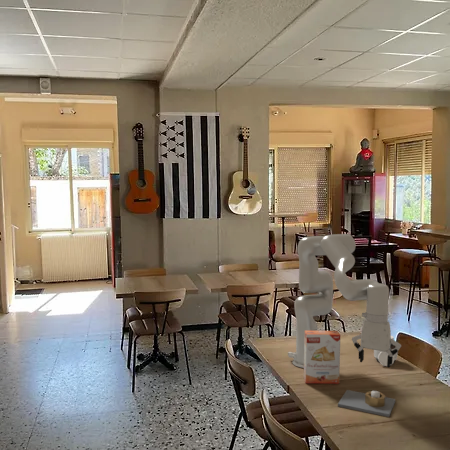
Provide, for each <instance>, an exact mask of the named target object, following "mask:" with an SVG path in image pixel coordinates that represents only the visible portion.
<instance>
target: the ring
mask: <svg viewBox="0 0 450 450" xmlns="http://www.w3.org/2000/svg"><path fill="white" fill-rule="evenodd" d="M379 392H380V391H379ZM365 393H366V394H365V403H366V404H368V405H369V406H373V407H383V406H384V405H385V397H386V395H385V394H384V393H382V392H380V398H375V397H371V391H370V390H369V391H366V392H365Z"/></svg>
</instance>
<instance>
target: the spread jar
mask: <svg viewBox="0 0 450 450" xmlns="http://www.w3.org/2000/svg"><path fill="white" fill-rule="evenodd" d="M391 339H393V340H394V339H395V337H394V336H393V335H391ZM390 348H391V349H392V351H393V350H394V349H395V348H396V346H394V345H393V344H391V346H390ZM398 352H399V351H398ZM398 352H397V353H396V354H394V355H393V359H392V365H393V364H394V362H396V360H397V359H398ZM373 356H374V358H375V360H376V361H377V362H379V363H380V365H382V366H383V367H387V358H388V353H387V352H386V351H378V350H373ZM392 365H391V364H390V366H392Z"/></svg>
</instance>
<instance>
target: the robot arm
mask: <svg viewBox="0 0 450 450" xmlns="http://www.w3.org/2000/svg"><path fill="white" fill-rule="evenodd" d="M297 244H298V245H297V255H298V256H297V257H298V260H299V262H298V264H299V266H298V269H299V270H298V288H299V291H300V292H302V293H303V294H305V293H306V295H301V296H298V297H297V298H296V299H295V300H294V303H293V304H294V313H295V321H296V323H295V324H296V325H295V327H296V328H295V330H296V333H295V334H296V335H295V337H296V339H295V346H296V347H295V352H293V351H288V352H287V356H288V358H292V359H293V360H292V365H294V366H296V367H298V368H303V369H304V337H305V331H318V324H317V322H316V321H315V319H314V317H317V316H323V315H324V316H325V315H328V314H330V313H331V311H332V308H333V299H334V298H333V297H334V285H335V287H336V288H337V290H338V291H339V293H340V294H341V296H343V298H344V299H346V300H347V301H362V300H363V301H364V300H365V301H366V305H365V307H366V311H365V312H362V314H361V316H362V317H363V318H365V319H364V320H363V323H362V327H361V332H360V334H358V335H355V336H352V337H351V341H352V343H353V345H354V346H353V347H355V348H356V350H357V351H358V360H359V363H363V362H364V358H365V350H364V349H367V350H373V351H374V350H378V351H386V352H387V353H388V358H387V366H386V367H388V368H390V367H391V366H392V365H393V364H392V359H393V355H394V354H396V353H397V352H399V350H400V349H401V347H402V344H401V343H399V342H398V341H396V340H393V339H391V336H392V333H391V331H392V330H391V324H390V322H389V320H388V319H389V299H390V297H389V294H390V288H389V286H388V285H387V284H384V283H379V282H378V281H376V280H375V279H370V278H366V279H364V278H363V279H353V280H351V279H350V278H349V277H348V276H347V274H346V273H347V272H348V271H350V270H351V269H352V268H353V267H354V265H355V263H356V259H355V256H354V255H353V253H354V252H355V250H356V241H355V239H354V238H353V236H352V235H350V234H347V233H337V234H336V233H335V234H334V233H333V234H328V235H312V236H304V237H303V238H301V239H300V240H299V241H298V243H297ZM316 256H326V257H327V258H328V260H329V261H330V263H331V264H332V266H333V267H334V268H335V269H334V273H333V277H332V274H331V273H330V272H328V271H327V270H319V260H318V259H317V257H316ZM333 279H334V280H333ZM334 283H335V284H334ZM313 293H314V294H313ZM315 293H318V294H315ZM358 340H360V342H358ZM391 344H393V345H394V346H396V348H395V349H394V350H393V351H392V349H391V348H390V346H391ZM397 354H398V353H397ZM390 364H391V365H390Z"/></svg>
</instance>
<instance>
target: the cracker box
mask: <svg viewBox="0 0 450 450" xmlns="http://www.w3.org/2000/svg"><path fill="white" fill-rule="evenodd" d="M340 365H341V334H340V333H339V331H338V330H317V331H305V337H304V368H303V380H304V382H305V384H323V385H324V384H325V385H326V384H329V385H330V384H331V385H333V384H334V385H339V384H340V370H341V369H340V368H341V367H340Z"/></svg>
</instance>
